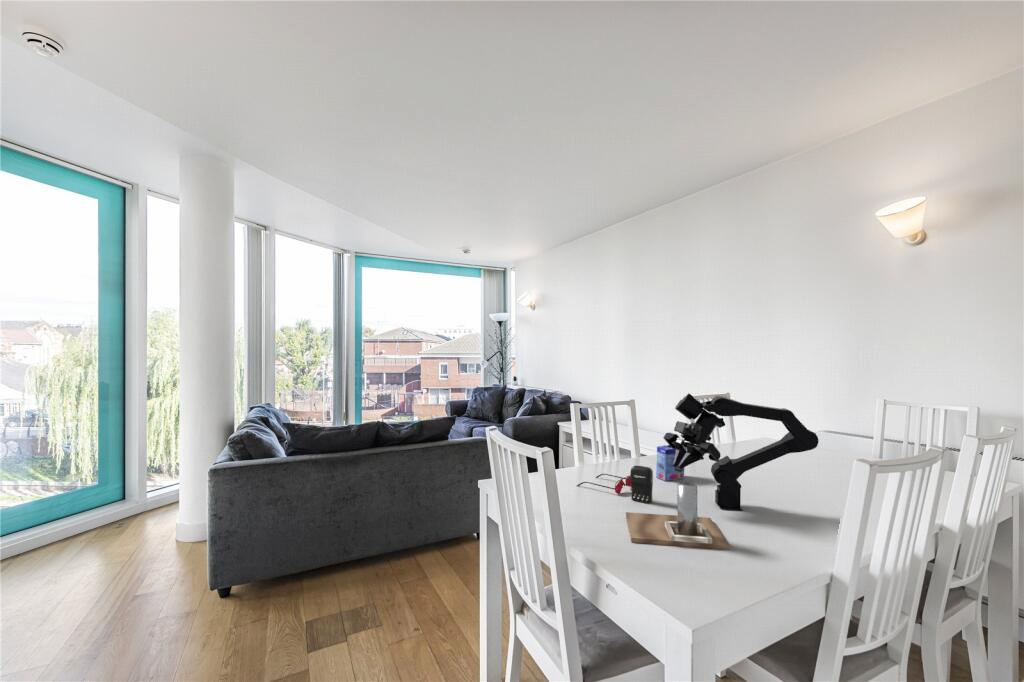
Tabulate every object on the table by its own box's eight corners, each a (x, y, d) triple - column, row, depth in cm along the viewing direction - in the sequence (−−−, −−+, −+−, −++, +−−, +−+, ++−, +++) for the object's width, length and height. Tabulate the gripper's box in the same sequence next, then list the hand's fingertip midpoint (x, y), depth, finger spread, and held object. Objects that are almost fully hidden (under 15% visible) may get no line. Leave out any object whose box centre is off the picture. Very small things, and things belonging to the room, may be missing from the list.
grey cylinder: (690, 529, 126) (690, 481, 126) (701, 536, 121) (701, 487, 121) (673, 530, 124) (673, 482, 125) (684, 538, 120) (684, 488, 120)
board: (710, 521, 134) (710, 513, 134) (728, 549, 116) (728, 540, 116) (625, 516, 138) (625, 508, 138) (631, 542, 120) (631, 533, 120)
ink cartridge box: (665, 481, 171) (666, 443, 171) (655, 477, 176) (655, 440, 176) (685, 478, 175) (685, 440, 175) (674, 474, 180) (675, 438, 180)
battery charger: (628, 500, 151) (629, 466, 151) (632, 497, 154) (632, 463, 154) (649, 505, 147) (650, 469, 147) (653, 501, 150) (653, 466, 150)
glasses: (617, 497, 155) (617, 482, 155) (576, 487, 166) (576, 473, 166) (635, 487, 166) (635, 473, 166) (595, 478, 177) (595, 465, 177)
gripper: (667, 408, 153) (641, 444, 148) (714, 416, 136) (686, 458, 131) (685, 429, 156) (660, 465, 152) (732, 440, 139) (706, 481, 135)
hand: (676, 467), depth 142 cm, fingers closed
